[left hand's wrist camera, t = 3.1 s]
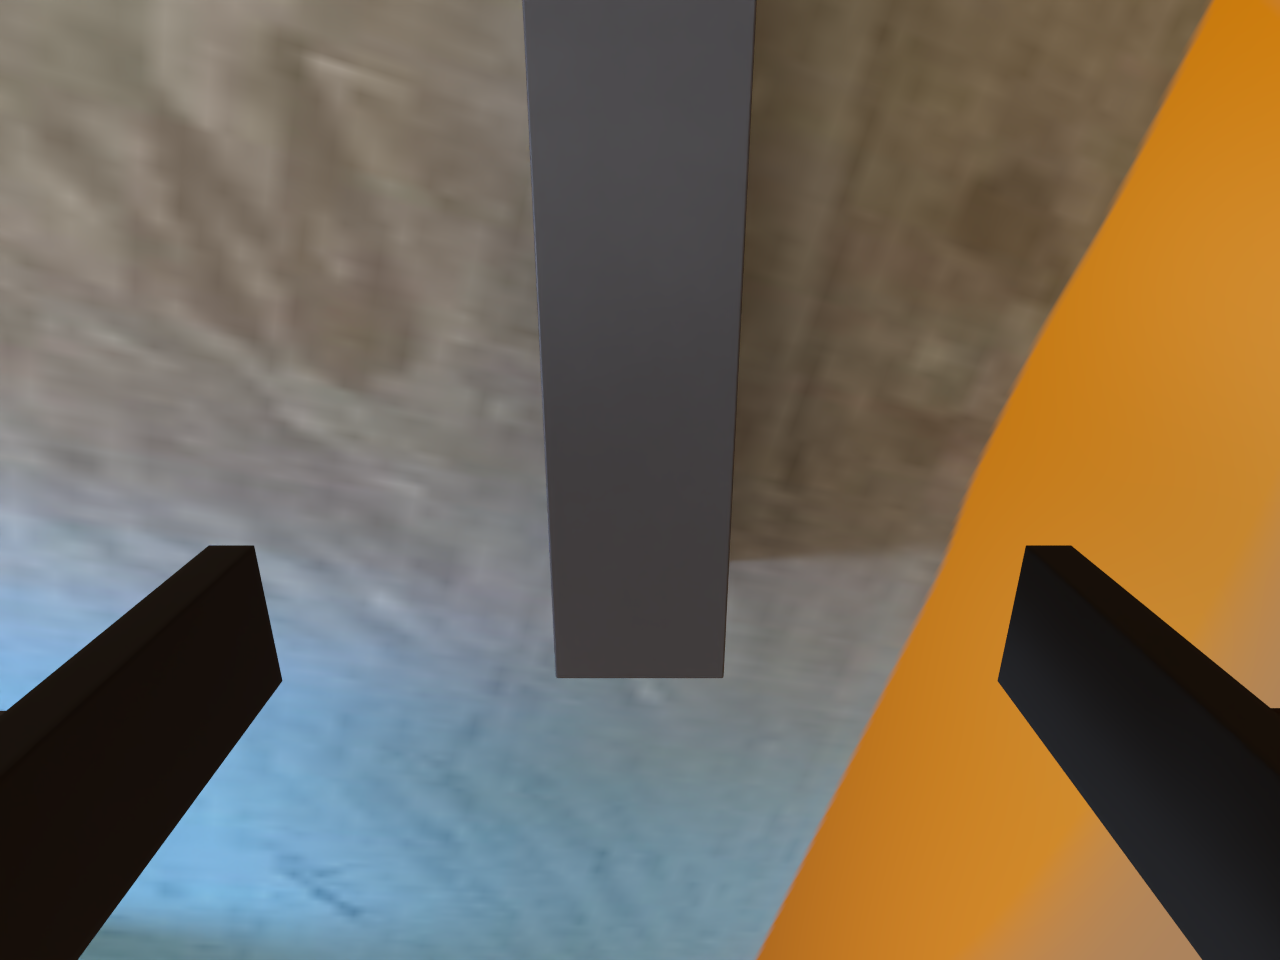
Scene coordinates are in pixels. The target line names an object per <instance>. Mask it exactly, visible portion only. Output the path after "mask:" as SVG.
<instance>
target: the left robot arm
mask: <svg viewBox="0 0 1280 960" xmlns="http://www.w3.org/2000/svg"><path fill="white" fill-rule="evenodd" d="M281 682H282V677H281V672H280V667H279V662H278V658H277V653H276V648H275V643H274V639H273V634H272V629H271V624H270V620H269V615H268V610H267V605H266V601H265V596H264V591H263V586H262V581H261V577H260V572H259V567H258V562H257V558H256V553H255V548H254V546H208V547H207V548H205V549H204V550H203V551H202V552H200V553H199V554H198V555H197V556H196V557H194V558H193V559H192V560H191V561H189V562H188V563H187V564H186V565H184V566H183V567H182V568H181V569H180V570H178V571H177V572H176V573H175V574H173V575H172V576H171V577H170V578H169V579H167V580H166V581H165V582H164V583H162V584H161V585H160V586H159V587H158V588H156V589H155V590H154V591H153V592H151V593H150V594H149V595H148V596H146V597H145V598H144V599H143V600H142V601H140V602H139V603H138V604H137V605H135V606H134V607H133V608H132V609H131V610H129V611H128V612H127V613H126V614H124V615H123V616H122V617H121V618H120V619H118V620H117V621H116V622H115V623H113V624H112V625H111V626H110V627H109V628H107V629H106V630H105V631H104V632H102V633H101V634H100V635H99V636H97V637H96V638H95V639H94V640H93V641H91V642H90V643H89V644H88V645H86V646H85V647H84V648H83V649H82V650H80V651H79V652H78V653H77V654H75V655H74V656H73V657H72V658H71V659H69V660H68V661H67V662H66V663H64V664H63V665H62V666H61V667H59V668H58V669H57V670H56V671H55V672H53V673H52V674H51V675H50V676H48V677H47V678H46V679H45V680H44V681H42V682H41V683H40V684H39V685H37V686H36V687H35V688H34V689H33V690H31V691H30V692H29V693H28V694H26V695H25V696H24V697H23V698H21V699H20V700H19V701H18V702H17V703H15V704H14V705H13V706H12V707H10V708H9V709H8V710H7V711H0V960H78V958H79V957H80V956H81V954H82V953H83V952H84V950H85V949H86V948H87V946H88V945H89V943H90V942H91V941H92V939H93V938H94V937H95V935H96V934H97V933H98V931H99V930H100V928H101V927H102V926H103V924H104V923H105V922H106V920H107V919H108V918H109V916H110V915H111V914H112V912H113V911H114V909H115V908H116V907H117V905H118V904H119V903H120V901H121V900H122V899H123V897H124V896H125V894H126V893H127V892H128V890H129V889H130V888H131V886H132V885H133V884H134V882H135V881H136V879H137V878H138V877H139V875H140V874H141V873H142V871H143V870H144V869H145V867H146V866H147V864H148V863H149V862H150V860H151V859H152V858H153V856H154V855H155V854H156V852H157V851H158V850H159V848H160V847H161V845H162V844H163V843H164V841H165V840H166V839H167V837H168V836H169V835H170V833H171V832H172V830H173V829H174V828H175V826H176V825H177V824H178V822H179V821H180V820H181V818H182V817H183V815H184V814H185V813H186V811H187V810H188V809H189V807H190V806H191V805H192V803H193V802H194V800H195V799H196V798H197V796H198V795H199V794H200V792H201V791H202V790H203V788H204V787H205V786H206V784H207V783H208V781H209V780H210V779H211V777H212V776H213V775H214V773H215V772H216V771H217V769H218V768H219V766H220V765H221V764H222V762H223V761H224V760H225V758H226V757H227V756H228V754H229V753H230V751H231V750H232V749H233V747H234V746H235V745H236V743H237V742H238V741H239V739H240V738H241V736H242V735H243V734H244V732H245V731H246V730H247V728H248V727H249V726H250V724H251V723H252V722H253V720H254V719H255V717H256V716H257V715H258V713H259V712H260V711H261V709H262V708H263V707H264V705H265V704H266V702H267V701H268V700H269V698H270V697H271V696H272V694H273V693H274V692H275V690H276V689H277V687H278V686H279V685H280V683H281ZM998 682H999V683H1000V685H1001V686H1002V687H1003V689H1004V690H1005V692H1006V693H1007V694H1008V696H1009V697H1010V698H1011V700H1012V701H1013V702H1014V704H1015V705H1016V707H1017V708H1018V709H1019V711H1020V712H1021V713H1022V715H1023V716H1024V717H1025V719H1026V720H1027V722H1028V723H1029V724H1030V726H1031V727H1032V728H1033V730H1034V731H1035V732H1036V734H1037V735H1038V736H1039V738H1040V739H1041V741H1042V742H1043V743H1044V745H1045V746H1046V747H1047V749H1048V750H1049V751H1050V753H1051V754H1052V756H1053V757H1054V758H1055V760H1056V761H1057V762H1058V764H1059V765H1060V766H1061V768H1062V769H1063V771H1064V772H1065V773H1066V775H1067V776H1068V777H1069V779H1070V780H1071V781H1072V783H1073V784H1074V785H1075V787H1076V788H1077V790H1078V791H1079V792H1080V794H1081V795H1082V796H1083V798H1084V799H1085V800H1086V802H1087V803H1088V805H1089V806H1090V807H1091V809H1092V810H1093V811H1094V813H1095V814H1096V815H1097V817H1098V818H1099V819H1100V821H1101V822H1102V824H1103V825H1104V826H1105V828H1106V829H1107V830H1108V832H1109V833H1110V834H1111V836H1112V837H1113V839H1114V840H1115V841H1116V843H1117V844H1118V845H1119V847H1120V848H1121V849H1122V851H1123V852H1124V854H1125V855H1126V856H1127V858H1128V859H1129V860H1130V862H1131V863H1132V864H1133V866H1134V867H1135V869H1136V870H1137V871H1138V873H1139V874H1140V875H1141V877H1142V878H1143V879H1144V881H1145V882H1146V884H1147V885H1148V886H1149V888H1150V889H1151V890H1152V892H1153V893H1154V894H1155V896H1156V897H1157V899H1158V900H1159V901H1160V902H1161V904H1162V905H1163V907H1164V908H1165V909H1166V911H1167V912H1168V913H1169V915H1170V916H1171V917H1172V919H1173V920H1174V922H1175V923H1176V924H1177V926H1178V927H1179V928H1180V930H1181V931H1182V933H1183V934H1184V935H1185V937H1186V938H1187V939H1188V941H1189V942H1190V943H1191V945H1192V946H1193V947H1194V949H1195V950H1196V952H1197V953H1198V954H1199V956H1200V957H1201V958H1202V960H1280V708H1270V707H1268V706H1267V705H1266V704H1265V703H1263V702H1262V701H1261V700H1260V699H1258V698H1257V697H1256V696H1255V695H1254V694H1252V693H1251V692H1250V691H1249V690H1247V689H1246V688H1245V687H1244V686H1243V685H1241V684H1240V683H1239V682H1238V681H1236V680H1235V679H1234V678H1233V677H1232V676H1230V675H1229V674H1228V673H1227V672H1225V671H1224V670H1223V669H1222V668H1221V667H1219V666H1218V665H1217V664H1216V663H1214V662H1213V661H1212V660H1211V659H1209V658H1208V657H1207V656H1206V655H1205V654H1203V653H1202V652H1201V651H1200V650H1198V649H1197V648H1196V647H1195V646H1194V645H1192V644H1191V643H1190V642H1189V641H1187V640H1186V639H1185V638H1184V637H1183V636H1181V635H1180V634H1179V633H1178V632H1176V631H1175V630H1174V629H1173V628H1171V627H1170V626H1169V625H1168V624H1167V623H1165V622H1164V621H1163V620H1162V619H1160V618H1159V617H1158V616H1157V615H1156V614H1154V613H1153V612H1152V611H1151V610H1149V609H1148V608H1147V607H1146V606H1145V605H1143V604H1142V603H1141V602H1140V601H1138V600H1137V599H1136V598H1135V597H1133V596H1132V595H1131V594H1130V593H1129V592H1127V591H1126V590H1125V589H1124V588H1122V587H1121V586H1120V585H1119V584H1118V583H1116V582H1115V581H1114V580H1113V579H1111V578H1110V577H1109V576H1108V575H1107V574H1105V573H1104V572H1103V571H1102V570H1100V569H1099V568H1098V567H1097V566H1096V565H1094V564H1093V563H1092V562H1091V561H1089V560H1088V559H1087V558H1086V557H1084V556H1083V555H1082V554H1081V553H1080V552H1078V551H1077V550H1076V549H1075V548H1073V547H1072V546H1026V548H1025V553H1024V558H1023V562H1022V567H1021V572H1020V577H1019V581H1018V586H1017V591H1016V596H1015V601H1014V605H1013V610H1012V615H1011V620H1010V624H1009V629H1008V634H1007V639H1006V643H1005V648H1004V653H1003V658H1002V663H1001V667H1000V672H999V677H998Z"/></svg>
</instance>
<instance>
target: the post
mask: <svg viewBox="0 0 1280 960" xmlns="http://www.w3.org/2000/svg"><path fill="white" fill-rule="evenodd" d="M756 1H757V0H523V19H524V39H525V60H526V80H527V100H528V121H529V141H530V161H531V182H532V202H533V222H534V243H535V263H536V283H537V303H538V324H539V344H540V364H541V385H542V405H543V425H544V446H545V466H546V486H547V507H548V527H549V547H550V568H551V588H552V608H553V629H554V649H555V669H556V677H557V678H723V676H724V655H725V635H726V614H727V594H728V573H729V553H730V532H731V512H732V491H733V471H734V451H735V430H736V410H737V389H738V369H739V348H740V328H741V307H742V287H743V266H744V246H745V226H746V205H747V185H748V164H749V144H750V123H751V103H752V82H753V62H754V42H755V21H756Z"/></svg>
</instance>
